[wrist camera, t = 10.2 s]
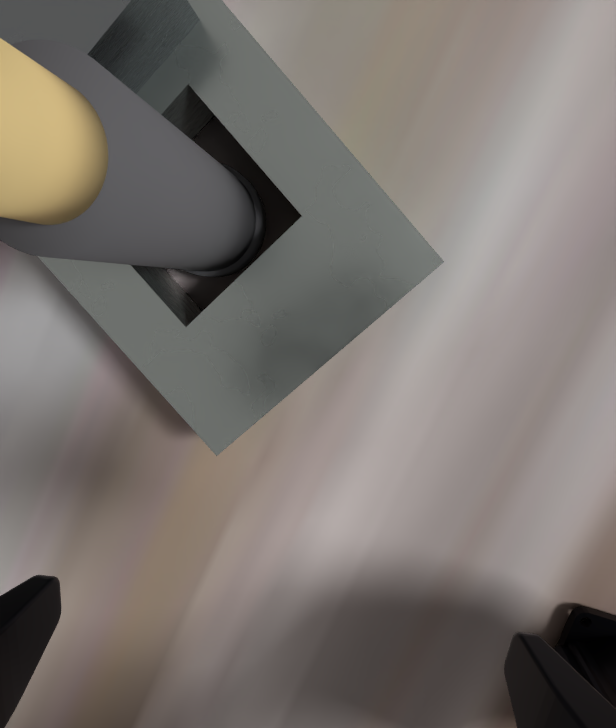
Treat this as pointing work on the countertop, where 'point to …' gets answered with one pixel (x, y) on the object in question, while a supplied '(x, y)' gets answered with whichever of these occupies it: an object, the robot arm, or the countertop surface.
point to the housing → (280, 261)
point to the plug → (111, 173)
